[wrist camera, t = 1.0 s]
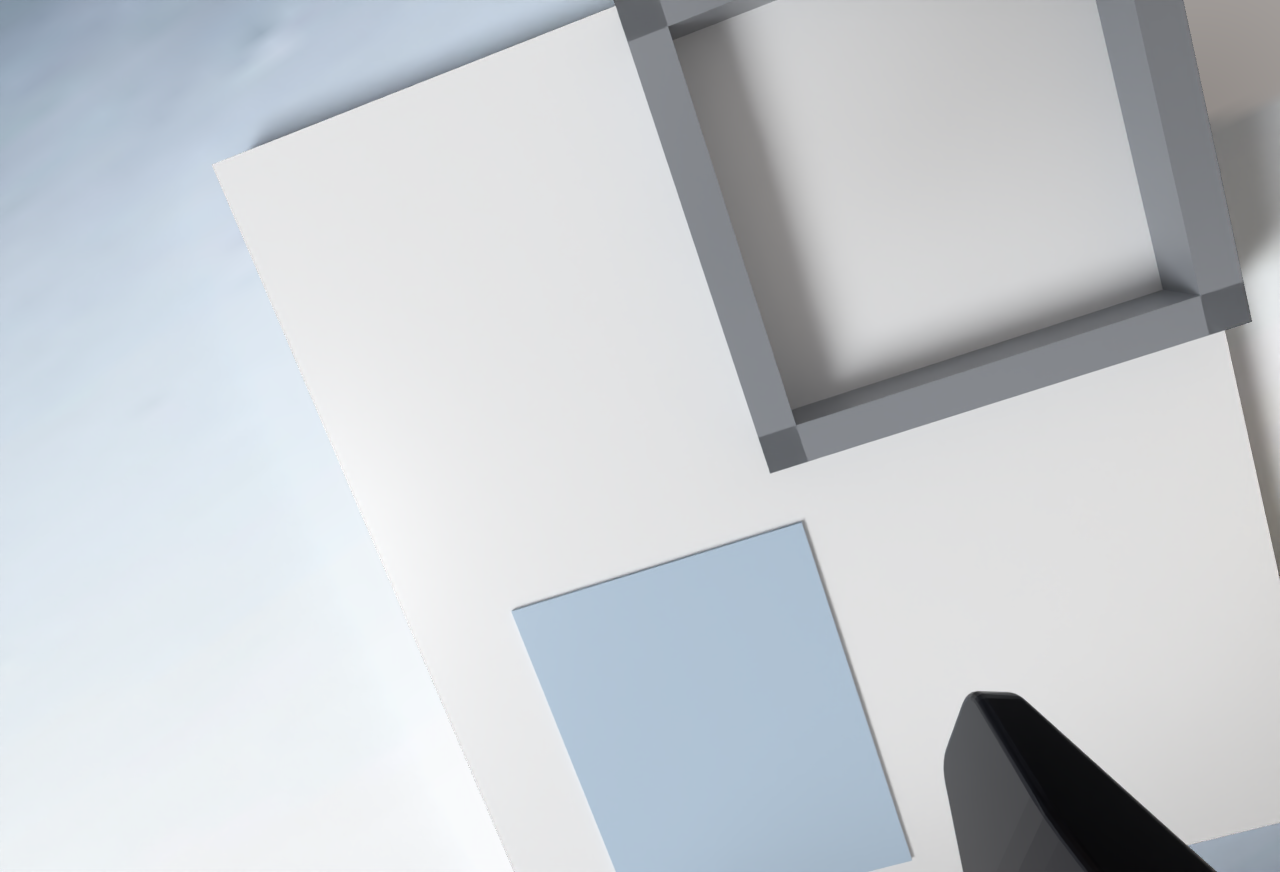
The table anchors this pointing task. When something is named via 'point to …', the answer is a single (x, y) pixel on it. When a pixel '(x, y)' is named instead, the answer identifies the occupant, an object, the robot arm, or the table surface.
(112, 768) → the table surface
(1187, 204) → the base plate
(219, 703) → the table surface
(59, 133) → the table surface
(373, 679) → the table surface
